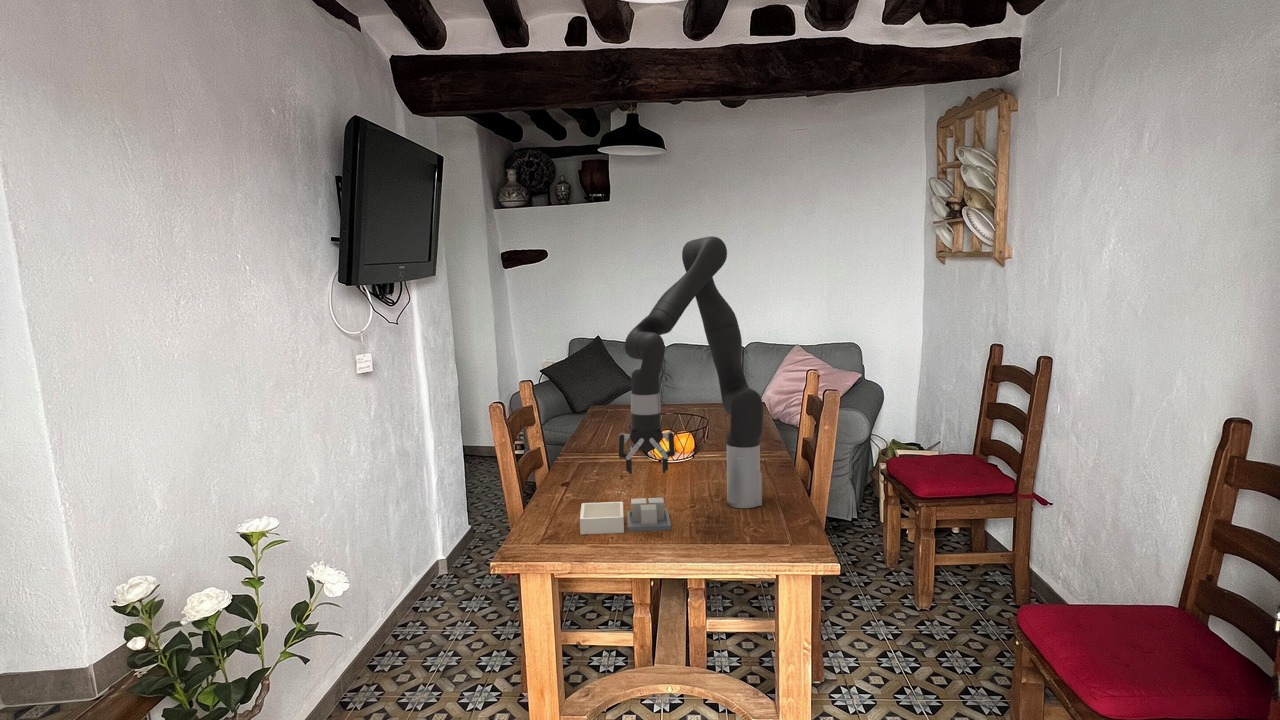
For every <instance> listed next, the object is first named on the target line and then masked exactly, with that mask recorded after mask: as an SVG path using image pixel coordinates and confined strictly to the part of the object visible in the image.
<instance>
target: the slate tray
mask: <svg viewBox="0 0 1280 720" xmlns="http://www.w3.org/2000/svg"><path fill="white" fill-rule="evenodd" d="M664 515H665V521H657V525H641V522H632V515H631V510H626V518H627V519H626V521H627V522H626V524H627V532H628V533H630V532H631V533H633V532H635V533H636V532H657V531H658V532H659V531H672V523H671V520H670V515H669V510H668V509H665V508H664Z"/></svg>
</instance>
